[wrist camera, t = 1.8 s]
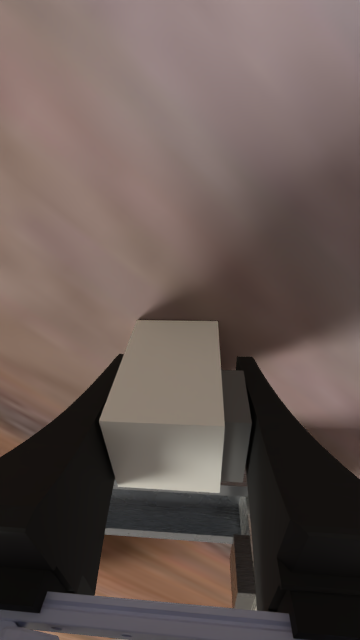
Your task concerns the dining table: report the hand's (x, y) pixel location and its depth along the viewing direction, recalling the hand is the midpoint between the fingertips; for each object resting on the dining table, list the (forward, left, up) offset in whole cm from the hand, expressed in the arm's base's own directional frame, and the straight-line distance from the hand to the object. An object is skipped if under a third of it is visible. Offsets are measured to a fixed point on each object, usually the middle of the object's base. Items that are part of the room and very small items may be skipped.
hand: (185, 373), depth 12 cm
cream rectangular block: (0, 0, -1) cm, 1 cm away
